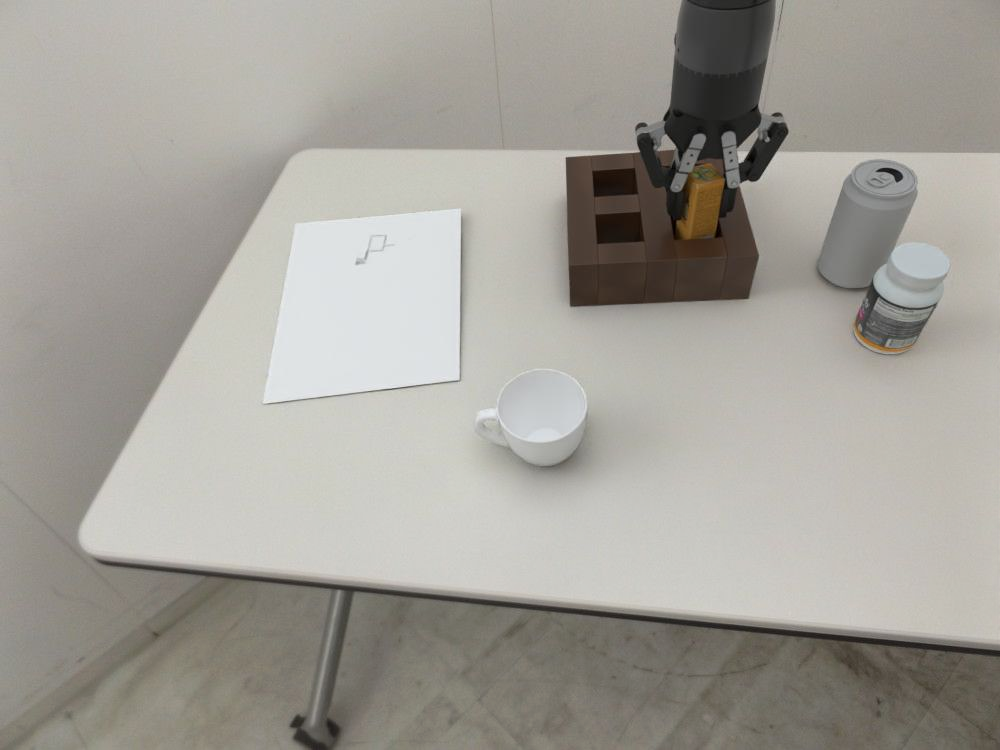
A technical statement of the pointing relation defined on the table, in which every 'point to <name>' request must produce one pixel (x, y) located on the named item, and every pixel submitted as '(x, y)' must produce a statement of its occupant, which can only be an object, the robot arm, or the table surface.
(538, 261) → the table surface
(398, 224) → the paper sheet
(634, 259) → the peg board
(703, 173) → the supplement box
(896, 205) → the beverage can
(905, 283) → the pill bottle
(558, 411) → the cup
